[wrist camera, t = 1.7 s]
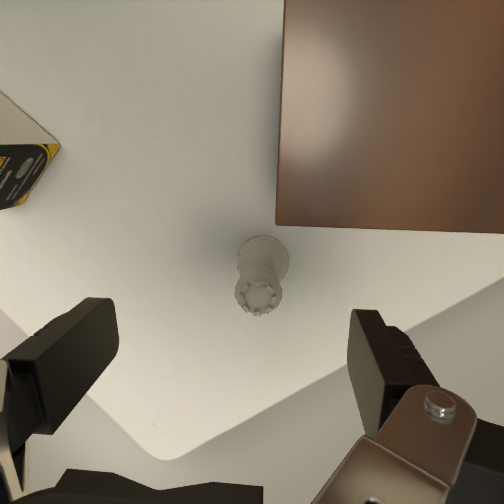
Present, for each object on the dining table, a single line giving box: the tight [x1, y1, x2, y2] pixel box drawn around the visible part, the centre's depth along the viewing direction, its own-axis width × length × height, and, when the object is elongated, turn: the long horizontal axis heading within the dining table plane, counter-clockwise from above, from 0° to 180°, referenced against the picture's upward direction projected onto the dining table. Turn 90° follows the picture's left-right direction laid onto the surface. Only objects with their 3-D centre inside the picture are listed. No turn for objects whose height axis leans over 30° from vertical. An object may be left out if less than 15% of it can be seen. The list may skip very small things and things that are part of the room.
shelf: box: [275, 0, 504, 234], centre depth 19 cm, size 18×11×14 cm, turn 89°
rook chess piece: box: [235, 236, 289, 316], centre depth 26 cm, size 4×4×8 cm
